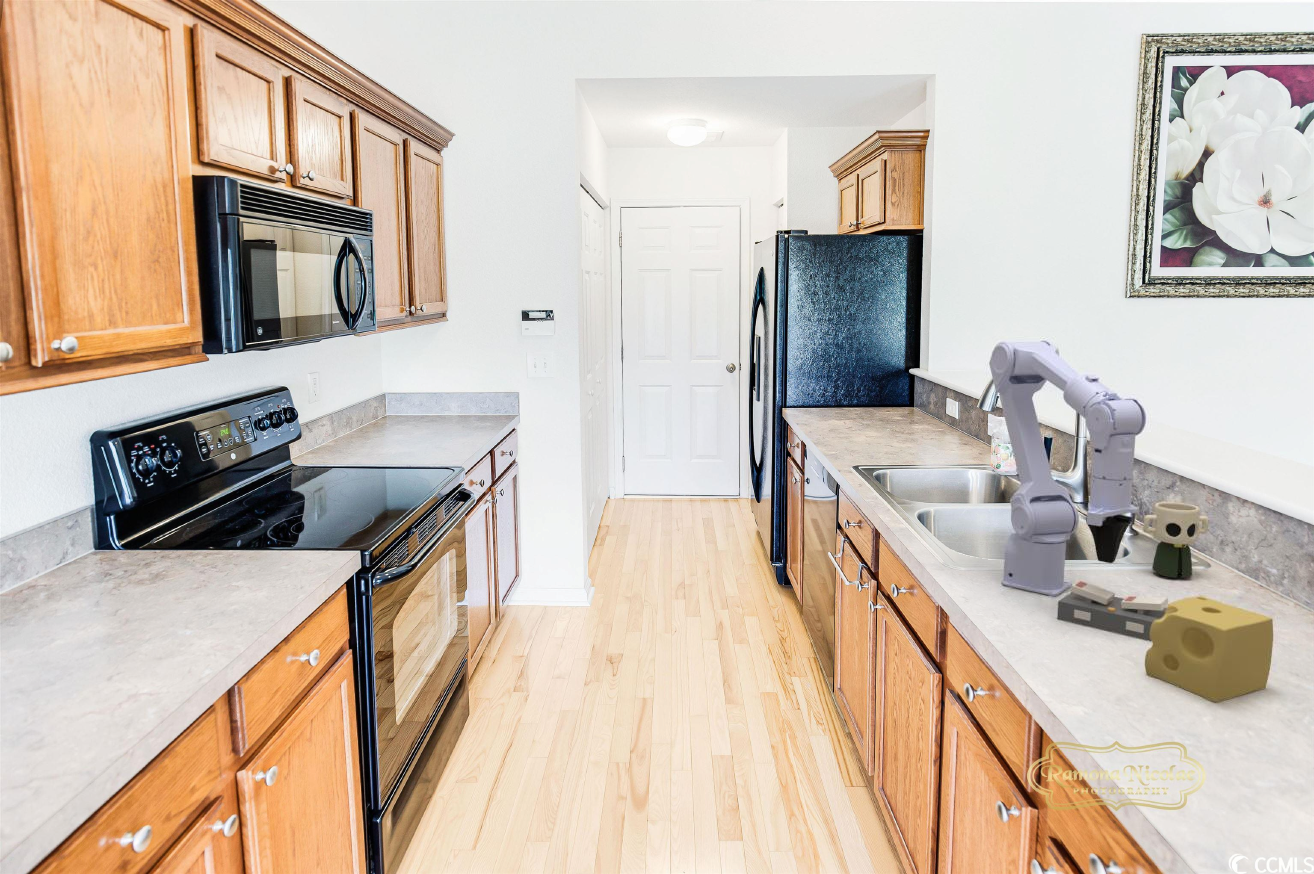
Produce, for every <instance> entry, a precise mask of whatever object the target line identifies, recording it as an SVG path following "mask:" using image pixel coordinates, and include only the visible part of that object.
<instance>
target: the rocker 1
mask: <svg viewBox="0 0 1314 874" xmlns="http://www.w3.org/2000/svg"><path fill="white" fill-rule="evenodd" d="M1069 591H1070V593H1071V592H1073V593H1076V594H1079V595H1081V596H1084V597H1087V598H1089V599H1092V600H1095V601H1097V602H1100V603H1103V604H1105V605H1106V604H1108V603H1109V602H1110V601H1112V600H1113V599H1114V597H1116V593H1115V592H1114V591H1111V590H1107V589H1105V588H1102V587H1100V586H1097V585H1094V584H1092V583H1089V582H1086V581H1084V580H1077V581H1076V582H1074V583H1072V586H1070V590H1069Z"/></svg>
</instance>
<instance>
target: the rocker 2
mask: <svg viewBox="0 0 1314 874" xmlns="http://www.w3.org/2000/svg"><path fill="white" fill-rule="evenodd" d="M1123 599H1124V600H1123V601H1121V607H1122V608H1127V609H1144V610H1160V611H1161V610H1163V609H1164V608H1165V607H1166V608H1167V606H1168V604H1169V599H1168V597H1155V596H1136V595H1128V596H1126V597H1125V598H1123Z"/></svg>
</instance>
